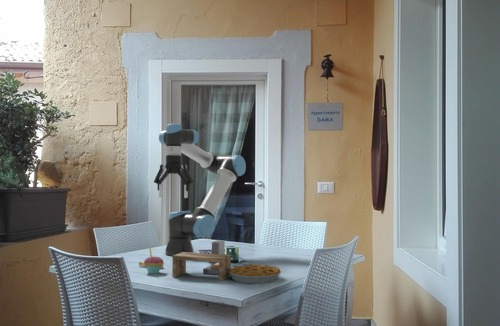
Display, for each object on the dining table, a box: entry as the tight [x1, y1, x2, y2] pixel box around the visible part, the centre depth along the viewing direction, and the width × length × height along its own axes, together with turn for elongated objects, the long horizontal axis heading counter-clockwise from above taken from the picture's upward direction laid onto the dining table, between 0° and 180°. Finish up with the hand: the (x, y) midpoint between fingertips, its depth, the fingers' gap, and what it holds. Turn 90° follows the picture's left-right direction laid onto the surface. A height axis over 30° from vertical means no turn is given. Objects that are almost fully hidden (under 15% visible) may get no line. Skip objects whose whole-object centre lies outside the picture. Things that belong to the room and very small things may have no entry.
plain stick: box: [138, 260, 164, 270], centre depth 248 cm, size 12×2×2 cm, turn 64°
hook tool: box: [202, 239, 226, 276], centre depth 243 cm, size 21×9×12 cm, turn 164°
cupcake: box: [144, 245, 165, 275], centre depth 235 cm, size 9×8×12 cm
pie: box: [229, 263, 282, 284], centre depth 224 cm, size 22×22×5 cm
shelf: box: [171, 252, 232, 281], centre depth 228 cm, size 11×22×9 cm, turn 74°
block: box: [213, 263, 219, 269], centre depth 236 cm, size 6×6×4 cm
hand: (173, 197), depth 264 cm, fingers open, 13 cm apart
